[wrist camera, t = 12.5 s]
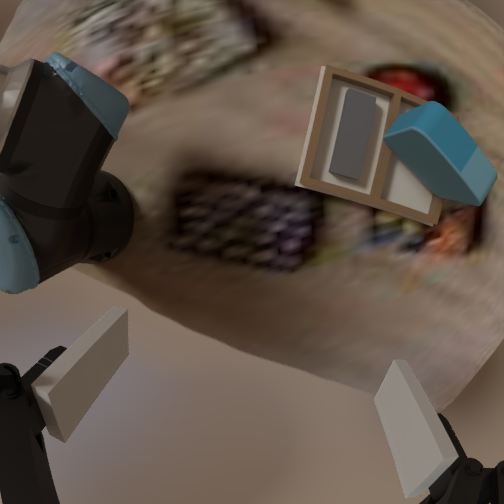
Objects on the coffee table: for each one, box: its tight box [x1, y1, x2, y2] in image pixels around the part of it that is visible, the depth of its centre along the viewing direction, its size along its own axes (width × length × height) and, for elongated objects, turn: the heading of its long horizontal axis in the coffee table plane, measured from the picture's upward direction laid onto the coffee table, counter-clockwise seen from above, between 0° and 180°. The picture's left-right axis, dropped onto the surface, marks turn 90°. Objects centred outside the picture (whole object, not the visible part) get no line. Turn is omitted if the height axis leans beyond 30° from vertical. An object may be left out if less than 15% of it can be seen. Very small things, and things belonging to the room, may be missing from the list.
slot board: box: [295, 65, 459, 227], centre depth 37 cm, size 22×18×3 cm
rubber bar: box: [328, 88, 377, 180], centre depth 37 cm, size 4×12×2 cm, turn 167°
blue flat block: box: [383, 101, 497, 206], centre depth 30 cm, size 12×4×12 cm, turn 52°
